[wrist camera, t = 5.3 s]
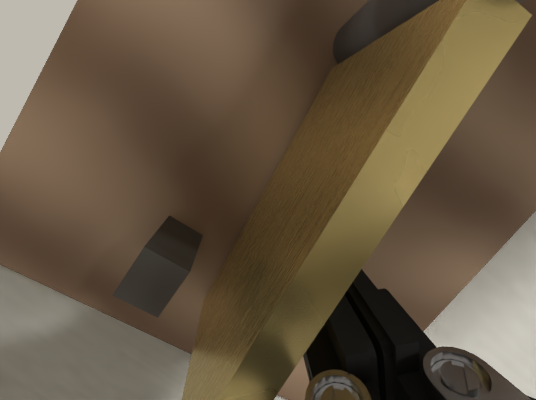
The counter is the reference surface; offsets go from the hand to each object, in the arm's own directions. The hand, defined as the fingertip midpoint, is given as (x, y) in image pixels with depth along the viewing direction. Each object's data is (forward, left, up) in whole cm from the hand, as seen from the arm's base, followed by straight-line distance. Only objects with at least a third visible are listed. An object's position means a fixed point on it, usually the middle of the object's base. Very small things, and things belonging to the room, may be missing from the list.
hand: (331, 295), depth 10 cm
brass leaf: (-1, -3, -2) cm, 4 cm away
